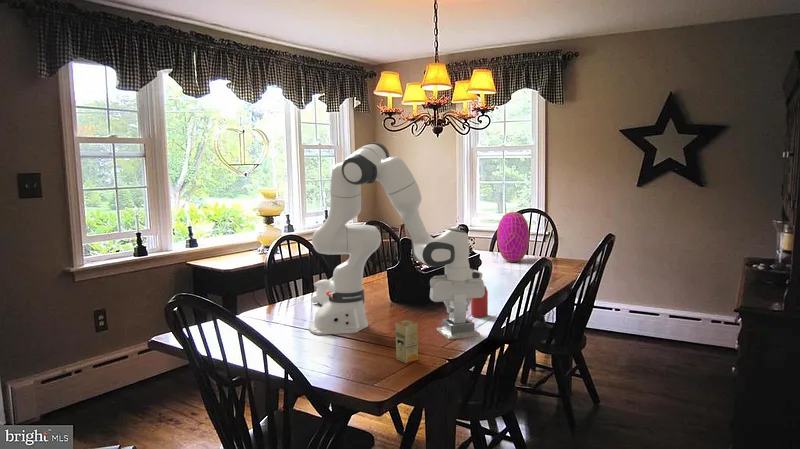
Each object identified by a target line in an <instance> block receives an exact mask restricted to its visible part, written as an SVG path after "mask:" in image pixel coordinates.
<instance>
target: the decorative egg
mask: <svg viewBox="0 0 800 449" xmlns="http://www.w3.org/2000/svg"><path fill="white" fill-rule="evenodd" d="M496 243H497V248H498V251H499V254H500V255H501V257H502V258H503V259H504V260H505V261H507V262H510V263H517V262H520V261H521V260H523V259H524V257H525V255H526V254H527V253H528V252H527V251H528V249H529V245H530V244H529V243H530V230H529V225H528V222H527V219H526V218H525V217H524V215H522V213H519V212H517V211H510V212H507V213H505V214H504V215H503V216H502V217H501V219H500V220H499V223H498V226H497V232H496Z"/></svg>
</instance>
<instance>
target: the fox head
mask: <svg viewBox="0 0 800 449" xmlns="http://www.w3.org/2000/svg"><path fill="white" fill-rule="evenodd" d="M313 286H314V287H315V288H316V291H315V293H314V295H312V296H311V298H310V300H311V302H312V303H313V304H315V303H317V304H320V305H321V307H322V306H323V305H324V304H326V303H327V302H328V301H329V296H327V295H326V292H327V290H329V291H333V290H334V282H333V276H332V277H331V278H329V279H320V280H317V281H316V282H314V283H313Z"/></svg>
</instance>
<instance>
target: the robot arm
mask: <svg viewBox="0 0 800 449" xmlns="http://www.w3.org/2000/svg"><path fill="white" fill-rule="evenodd" d="M330 177H331V178H330V188H329V189H330V204H329V205H330V207H329V208H330V210H329V214H328V215H327V218H326V220H325V221H324V222H323V223H322V224H321V225H320V226H318V227H317V228H316V229H315V230H314V232H313V234H312V237H311V243H312V246H313V249H314V250H315V252H317V253H318V254H323V255H328V256H330V255H349V256H348V259H347V260H346V261H344V262H342V263H340V264H338V265H337V266H336V267H335V268H334V269H333V273H332V277H333V278H332V281H333V282H334V290H333V291H329V290H327V292H326V295H327V296H329V301H328V302H327V303H326V304H324V305H323V306H322V305H321V307H319V308H318V309H317V310H316V312H315V314H314V320H313V321H314V322H311V323H309V324H308V331H309V332H311V334H314V335H317V336H319V335H320V336H321V335H337V334H339V335H340V334H354V333H359V331H361V330H363V329H365V328H367V327H368V326H369V323H368V320H367V317H366V309H365V300H366V299H365V290H364V288H363V287H364V285H363V284H364V283H363V282H364V270H365V269H364V268H365V265H366V263H367V261H368V259H369V258H370V257H371V255H372V254H373V253H375V252H376V251H377V250H379V247H380V246H381V242H382V235H381V232H380V229H378V228H377V226H375V225H369V224H347V223H349V222H350V221H352V220H354V219H356V218H357V217H358V216H359V215H360V213H361V211H362V185H365V184H366V185H367V184H374V183H375V181H377V182H378V183H380V184H381V186H382V188H383V190H384V192H385V194H386V196H387V198H388V200H389V202H390V204H391V205H392V206H393V208H394V209H395V211H397V213H398V214H399V217H400V218H401V219H402V222H403V224H404V226H405V228H406V230H407V234H408V235H409V237H410V241H411V252H412V255H413V257H414V258H415V260H417V261H418V262H419V263H422V264H424V265H426V266H428V267H431V268H438V267H443V266H444V274H442V275H441V274H440V275H434V276H432V277H431V278H430V280H429V286H430V290H429V299H430V301H433V302H434V303H440V302H443V303H444V306H445V307H446V312H447V313H448V314H449V313H451V312H452V307H450V306H449V303H450V301H451V300H453V295H454V294H464V293H465V294H466V312H468V311H469V306H470V305H471V299H472V298H482V297H483V296H484V294H485V288H484V286H485V282H484V280H483V279H482V278H483V273H482V272H480V271H479V270H476V269H473V268H470V262H469V256H470V241H469V236H468V233H467V232H466V231H464V230H462V229H457V228H447V229H446V230H445V231H444V232H442V233H441V234H439V235H437V236H436V237H433V236H431V235H430V234H429V233H428V231H427V229H426V227H425V225H424V222H423V220H422V217H421V216H420V212H419V211H420V210H419V209H420V208H419V207H420V206H421V203H422V195H421V194H422V193H421V191H420V190H421V189H420V187H419V185H418V184H417V181H416V179H415V177H414V175H413V173H412V171H411V170H410V168H409V167H408V165H407V164H406V163H405V161H404V160H403V159H402V158H401V157H400V156H390V153H389V150H388V148H387V147H386V146H385V145H384V144H382V143H380V142H375V141H374V142H368V143H367V144H365V145H363V146H361V147H359V148H357V149H356V150H355V151H354V152H352V153H351V154H349V155H347V157H346V158H345V159H344V161H340V162H338V163H336V164H335V165H334V166H333V167H332V170H331V176H330Z"/></svg>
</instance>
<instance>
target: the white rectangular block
mask: <svg viewBox="0 0 800 449" xmlns="http://www.w3.org/2000/svg"><path fill="white" fill-rule="evenodd" d="M448 305H449V306H450V307H452V312H451V313H448V319H449V323H451V324H452V325H456V324H465V323H466V318H467V311H466V294H465V293H464V294H454V295H453V300H451V301H450V303H449V304H448Z"/></svg>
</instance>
